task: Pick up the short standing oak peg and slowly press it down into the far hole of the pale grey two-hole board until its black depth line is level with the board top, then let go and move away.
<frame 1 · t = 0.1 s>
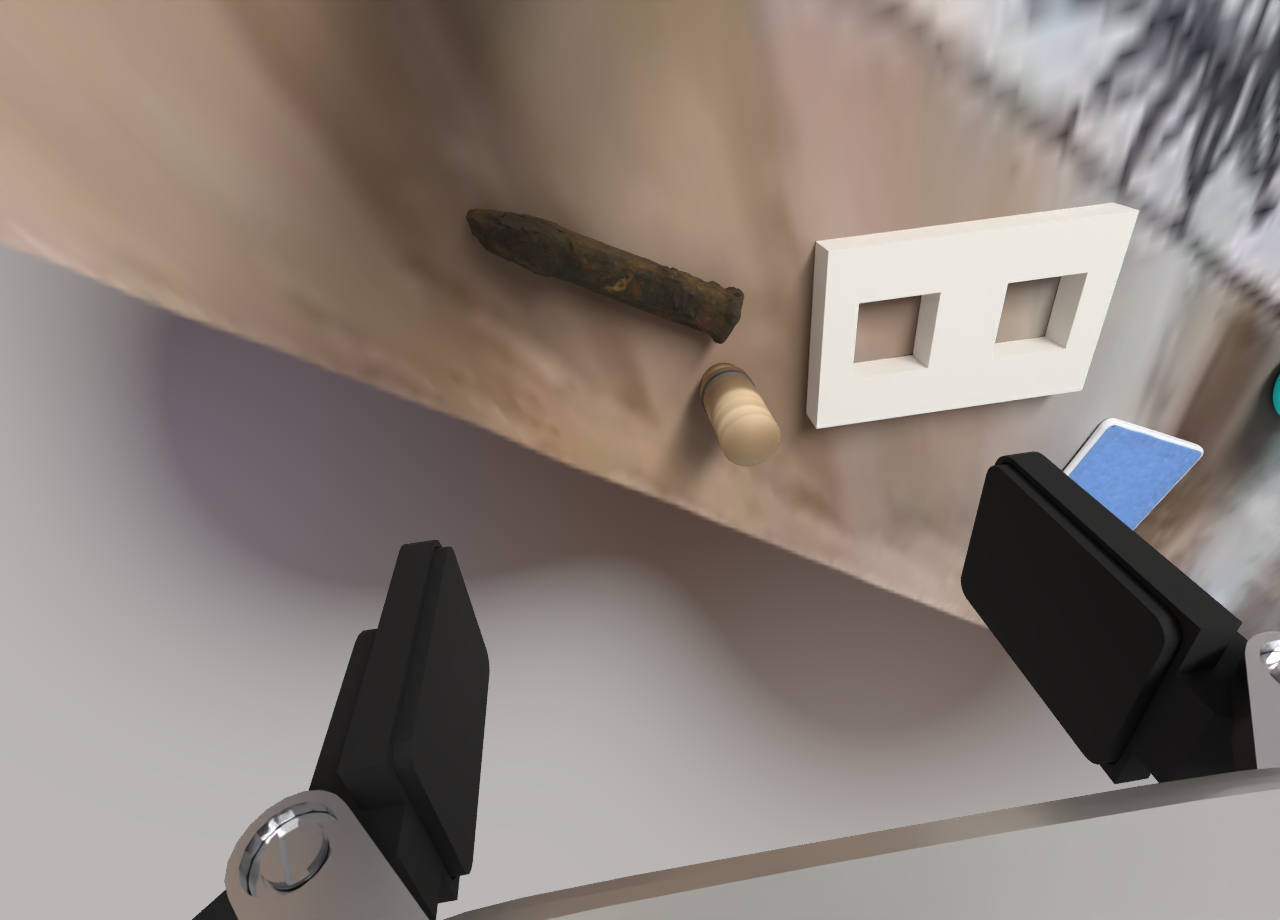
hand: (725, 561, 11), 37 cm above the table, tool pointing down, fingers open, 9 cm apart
tablet computer: (1080, 508, 65), on the table
hole board: (949, 315, 50), on the table
oak peg: (721, 381, 51), on the table
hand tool: (603, 268, 46), on the table
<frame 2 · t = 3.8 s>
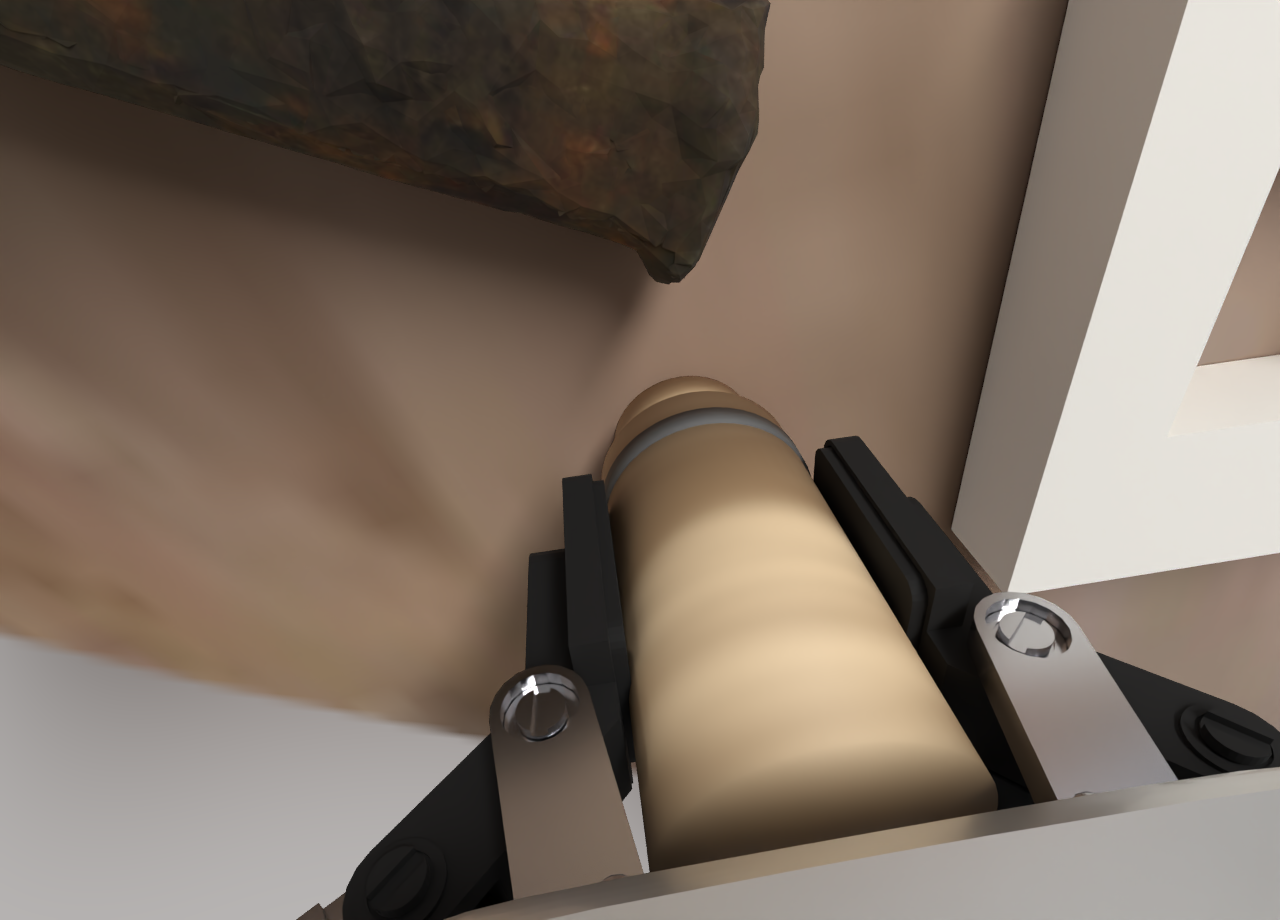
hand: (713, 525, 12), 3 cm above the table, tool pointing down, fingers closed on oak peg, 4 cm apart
oak peg: (684, 439, 15), on the table, touching gripper
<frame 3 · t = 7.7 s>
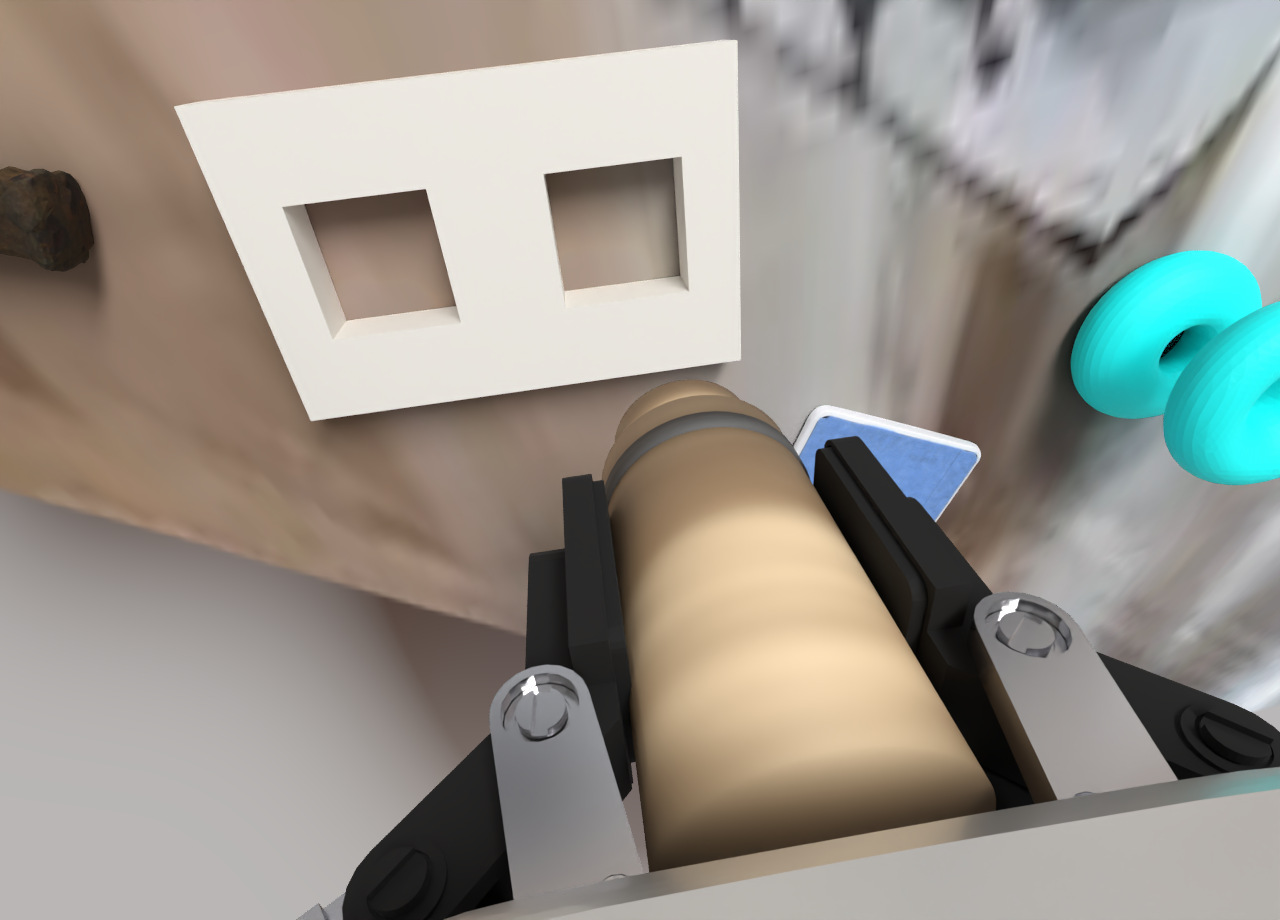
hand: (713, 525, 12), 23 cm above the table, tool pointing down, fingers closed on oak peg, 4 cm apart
tablet computer: (827, 534, 46), on the table
donuts: (1139, 328, 39), on the table
hole board: (502, 237, 31), on the table
oak peg: (684, 442, 15), point 20 cm above the table, touching gripper
when the fingers open (4 cm above the table, at t = 11.8 s): oak peg stays where it is, resting in hole board.
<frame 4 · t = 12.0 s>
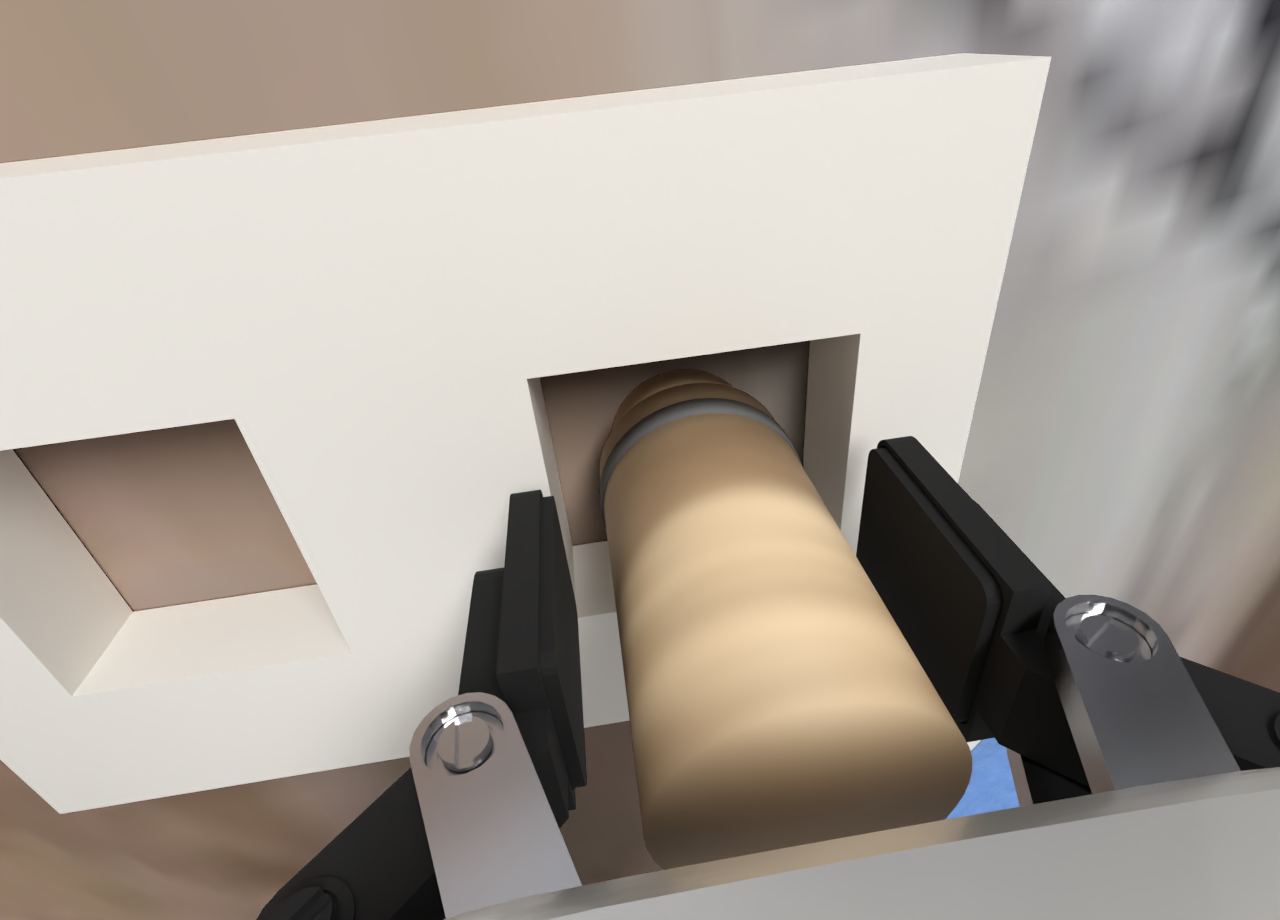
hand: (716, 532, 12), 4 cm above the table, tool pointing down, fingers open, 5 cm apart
tablet computer: (977, 821, 29), on the table
hole board: (445, 463, 15), on the table
oak peg: (680, 431, 15), resting in hole board
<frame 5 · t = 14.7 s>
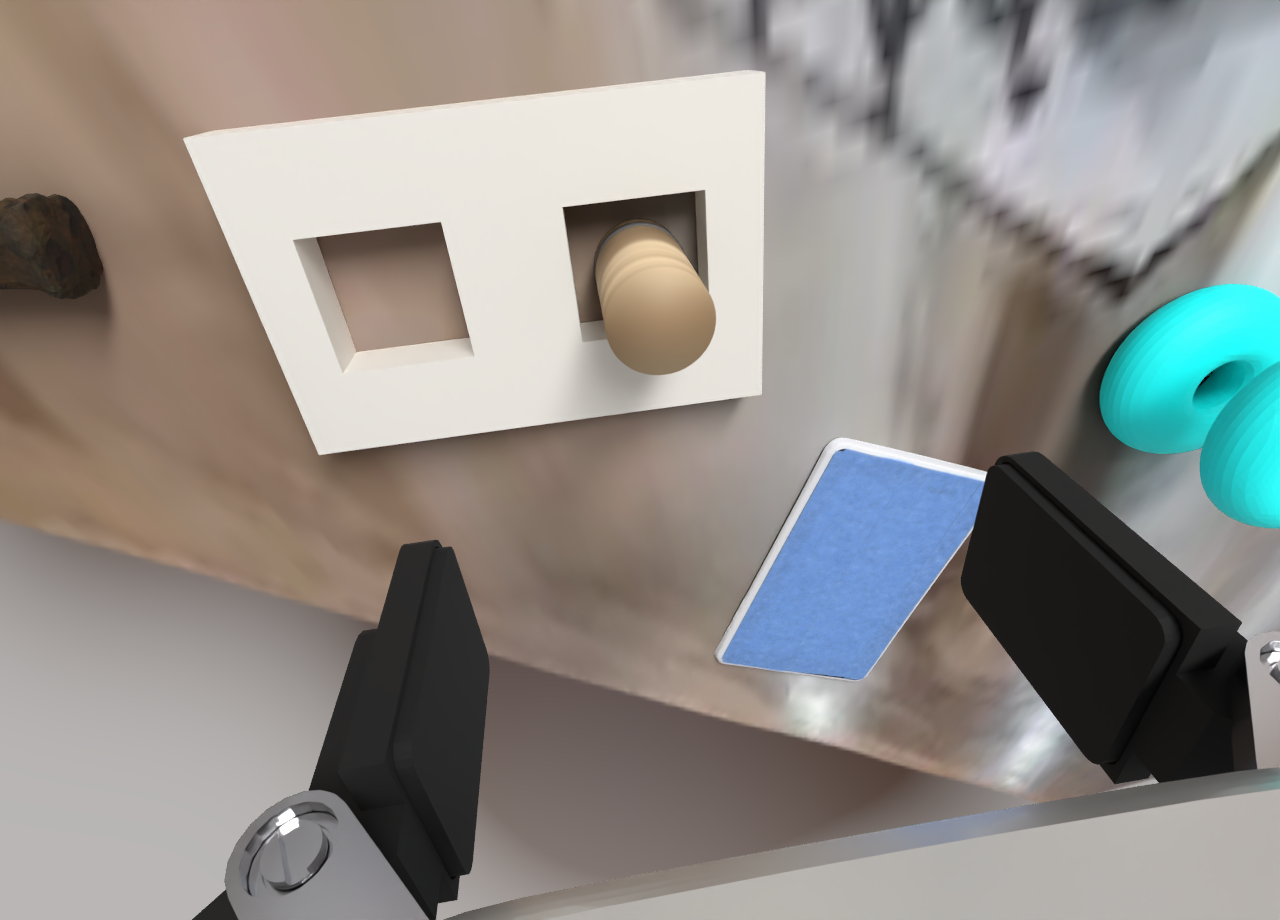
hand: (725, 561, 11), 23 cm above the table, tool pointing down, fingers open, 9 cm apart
tablet computer: (842, 566, 44), on the table
donuts: (1170, 361, 38), on the table
hole board: (518, 269, 31), on the table
oak peg: (634, 255, 31), resting in hole board
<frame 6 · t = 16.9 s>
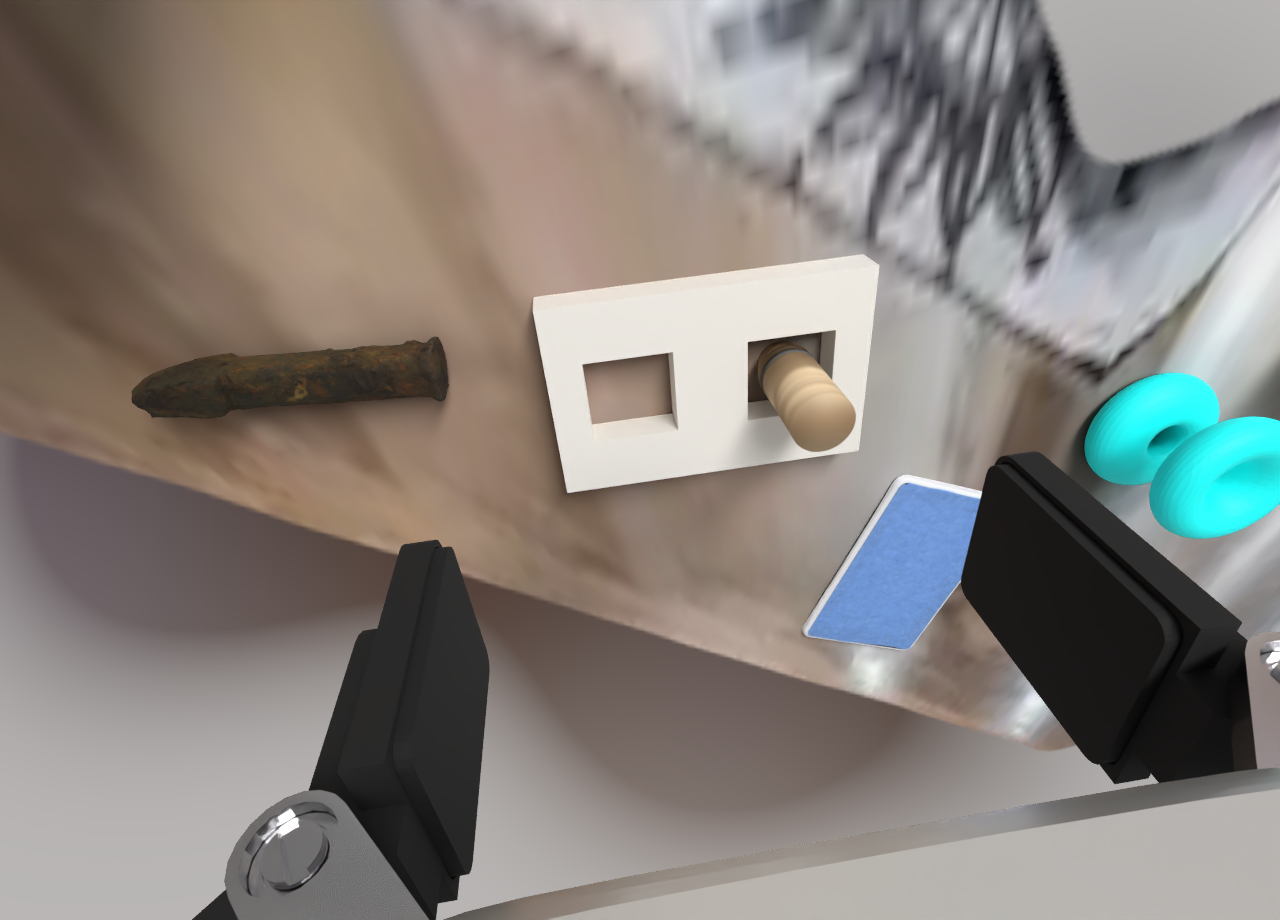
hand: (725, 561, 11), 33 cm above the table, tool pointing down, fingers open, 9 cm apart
tablet computer: (898, 564, 61), on the table
donuts: (1134, 420, 54), on the table
hole board: (704, 371, 47), on the table
oak peg: (779, 362, 47), resting in hole board
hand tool: (307, 371, 44), on the table
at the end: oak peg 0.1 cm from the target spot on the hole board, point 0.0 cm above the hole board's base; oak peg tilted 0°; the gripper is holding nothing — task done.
